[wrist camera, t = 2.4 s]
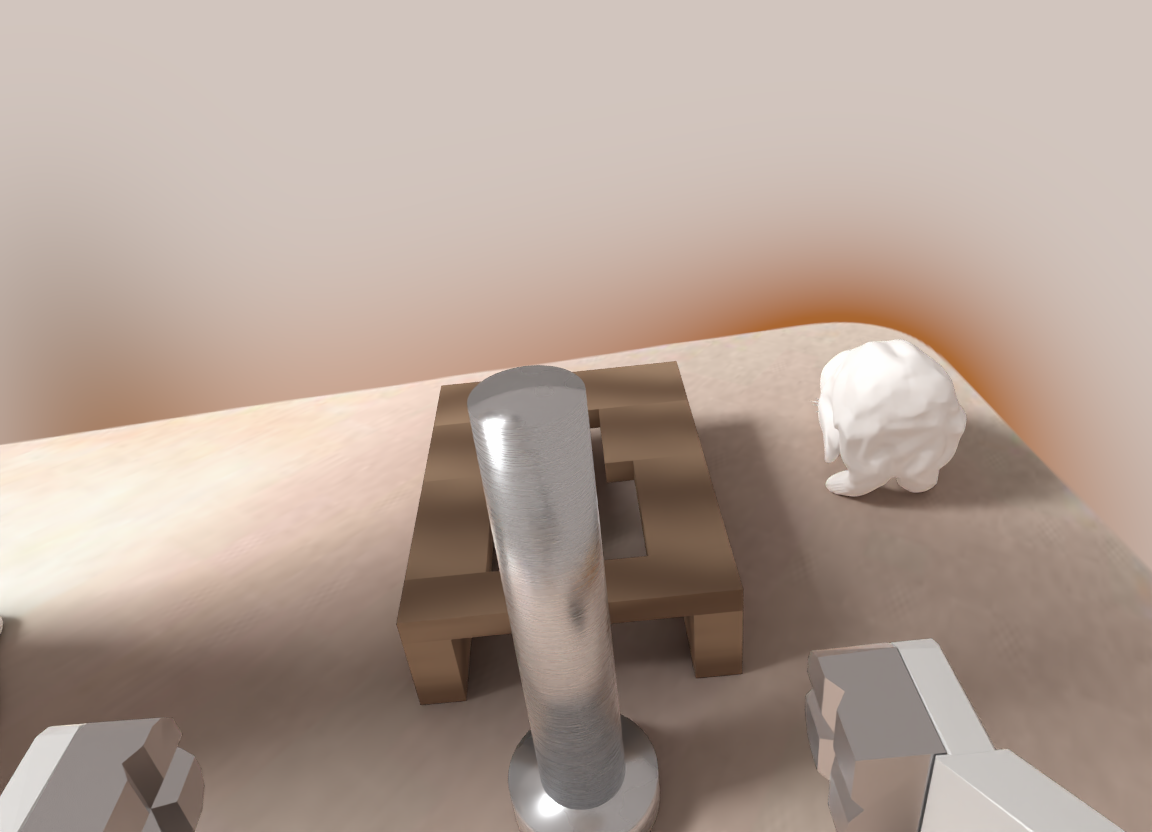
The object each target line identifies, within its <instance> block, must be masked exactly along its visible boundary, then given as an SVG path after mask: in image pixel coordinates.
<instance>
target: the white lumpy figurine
mask: <svg viewBox="0 0 1152 832" xmlns="http://www.w3.org/2000/svg"><path fill="white" fill-rule="evenodd" d="M820 388H821V395H820V399H817V400H819V402H817V401H811V402H814V403H817V404H818V405H815V404H813V405H815V406H818V409H819V411H816V412H819V413H818V416H819V423H820V426H821V429H822V432H823V438H824V448H825V462H827V463H830V462H833V461H834V460H836V459H837V457H838V456H839V454H841V458H842V460H843V463H844V464H845V466H846V467H847V468H848V470H845V471H841V472H839V473H836V474H834V475H832V476H830V477H829V478H828V479H827V481H826V484H825V485H826V487H827V489H828V490H830V492H833V493H835V494H840V495H846V496H861V495H864V494H867V493H869V492H871V491H873V490H875V489H877V488H879V487H881V486H883V485H885V484H886V483H887V482H888V480H889V479H891V478H894V477H896V481H897V483H898V484H899V485H900V486H901V487H902V488H904V489H905V490H907V491H910V492H915V493H917V492H924V491H927V490H929V489H930V488H933V487H934V485H936V483H937V482H938V474H939V469H940V468H942V467H943V466H944V465H946V464H947V463H948V462H949V461H950V460H951V459H952V457H953V456H954V454H955V452H956V450H957V447H958V444H959V441H960V438H961V436H962V435H963V433H964V431H965V427H966V420H967V417H966V413H965V411H964V410H963V408H962V407H961V405H960V404H959V402H958V399H957V397H956V393H955V390H954V386H953V383H952V380H951V378H950V377H949V375H948V374H947V372H946V371H945V370H944V368H943V367H942V366H941V365H940V364H939V363H937V362H936V361H935V360H934V359H932V358H931V357H930V356H928V355H927V354H926V353H924V352H923V351H922V350H920V349H919V348H918V347H916V346H915V345H913V344H911V343H910V342H908V341H905V340H901V339H899V340H890V341H875V342H867V343H866V344H864V345H861V346H859V347H856V348H855V349H853V350H846V351H843V352H841V353H839V354H838V355H836V356H835V357H834V358H832V359H831V360H830V361H829V362H828V363H827V364H826V366H825V367H824V369H823V371H822V373H821V379H820Z"/></svg>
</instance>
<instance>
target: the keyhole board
mask: <svg viewBox="0 0 1152 832" xmlns="http://www.w3.org/2000/svg"><path fill="white" fill-rule="evenodd" d="M572 373H574V374H576V375H577V376H579V377H580V378H581V379H582V381H583V382H584V384H585V388H586V397H587V407H588V416H589V426H590V428H598V427H600V429H601V437H602V446H603V454H604V463H605V471H606V480H607V483H608V482H617V481H627V480H635V486H636V492H637V498H638V504H639V510H640V517H641V523H642V529H643V535H644V541H645V547H646V553H647V556H641V557H631V558H621V559H611V560H604V567H605V577H606V586H607V596H608V605H609V615H610V624H613V623H623V622H633V621H643V620H654V619H664V618H674V617H684V621H685V626H686V631H687V636H688V641H689V646H690V651H691V656H692V661H693V666H694V671H695V676H696V678H702V677H712V676H722V675H733V674H742V643H743V587H742V583H741V580H740V576H739V573H738V570H737V566H736V563H735V559H734V556H733V553H732V549H731V546H730V542H729V539H728V536H727V532H726V529H725V525H724V522H723V518H722V515H721V512H720V508H719V505H718V501H717V498H716V495H715V491H714V488H713V484H712V481H711V477H710V474H709V471H708V467H707V464H706V460H705V457H704V454H703V450H702V447H701V443H700V440H699V436H698V433H697V430H696V426H695V423H694V419H693V416H692V413H691V409H690V406H689V402H688V399H687V395H686V392H685V389H684V385H683V382H682V378H681V375H680V372H679V368H678V365H677V361H674V362H664V363H654V364H645V365H635V366H626V367H616V368H607V369H597V370H587V371H578V372H572ZM479 383H480V382H473V383H463V384H453V385H444V386H441V390H440V396H439V401H438V406H437V412H436V417H435V422H434V427H433V433H432V438H431V443H430V449H429V454H428V459H427V464H426V470H425V475H424V480H423V486H422V491H421V496H420V501H419V507H418V512H417V517H416V522H415V528H414V533H413V538H412V544H411V549H410V554H409V559H408V565H407V570H406V575H405V581H404V586H403V591H402V596H401V602H400V607H399V612H398V617H397V623H396V624H397V628H398V631H399V634H400V638H401V641H402V644H403V648H404V651H405V654H406V658H407V661H408V664H409V668H410V671H411V674H412V678H413V681H414V684H415V688H416V691H417V694H418V698H419V701H420V704H421V705H425V704H435V703H445V702H455V701H466V698H467V686H468V675H469V663H470V651H471V640H472V637H481V636H492V635H502V634H512V631H511V626H510V621H509V616H508V611H507V606H506V601H505V596H504V591H503V586H502V580H501V575H500V571H492V572H491V569H492V554H493V535H492V530H491V524H490V519H489V514H488V509H487V504H486V499H485V494H484V489H483V484H482V479H481V474H480V468H479V463H478V458H477V453H476V448H475V443H474V438H473V433H472V428H471V423H470V418H469V412H468V407H467V400H468V397H469V394H470V393H471V391H472V390H473V389H474V388H475V387H476V386H477V385H478V384H479Z"/></svg>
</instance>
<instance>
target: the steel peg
mask: <svg viewBox="0 0 1152 832" xmlns="http://www.w3.org/2000/svg"><path fill="white" fill-rule="evenodd" d="M467 407H468V412H469V418H470V423H471V428H472V433H473V438H474V443H475V448H476V453H477V458H478V463H479V468H480V474H481V479H482V484H483V489H484V494H485V499H486V504H487V509H488V514H489V519H490V524H491V530H492V535H493V540H494V545H495V550H496V555H497V560H498V565H499V570H500V575H501V580H502V586H503V591H504V596H505V601H506V606H507V611H508V616H509V621H510V626H511V631H512V636H513V642H514V647H515V652H516V657H517V662H518V667H519V672H520V677H521V682H522V687H523V692H524V698H525V703H526V708H527V713H528V718H529V723H530V728H531V730H530V731H529V732H528V733H527V734H526V735H525V736H524V737H523V738H522V740H521V741H520V743H519V744H518V746H517V748H516V750H515V752H514V754H513V756H512V759H511V762H510V767H509V774H508V784H509V791H510V795H511V800H512V804H513V808H514V813H515V817H516V821H517V824H518V826H519V829H520V831H521V832H650V830H651V829H652V827H653V825H654V823H655V820H656V817H657V814H658V810H659V804H660V788H659V774H658V763H657V757H656V754H655V750H654V748H653V746H652V743H651V742H650V740H649V738H648V737H647V735H646V734H645V733H644V732H643V730H642V729H641V728H640V727H639V726H637V725H636V724H635V723H634V722H632V721H631V720H630V719H628V718H626V717H625V716H623V715H621V714H620V709H619V700H618V690H617V681H616V672H615V662H614V653H613V643H612V634H611V624H610V615H609V605H608V596H607V586H606V577H605V567H604V558H603V549H602V539H601V530H600V520H599V511H598V501H597V492H596V482H595V473H594V463H593V454H592V444H591V435H590V426H589V416H588V407H587V397H586V388H585V384H584V382H583V381H582V379H581V378H580V377H579V376H577V375H576V374H574V373H572V372H571V371H568V370H566V369H562V368H558V367H553V366H541V365H536V366H523V367H517V368H513V369H509V370H505V371H502V372H499V373H497V374H494V375H492V376H490V377H488V378H486V379H485V380H483V381H482V382H480V383H479V384H478V385H477V386H476V387H475V388H474V389H473V390H472V391H471V393H470V394H469V397H468V400H467Z"/></svg>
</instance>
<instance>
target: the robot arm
mask: <svg viewBox="0 0 1152 832" xmlns="http://www.w3.org/2000/svg"><path fill="white" fill-rule="evenodd" d="M2 627H3V619H2V618H1V617H0V634H1V631H2ZM807 672H808V675H809V678H810V681H811V684H812V687H813V688H812V689H811V690H810V691H809V692H808V694H807V695H806V703H805V716H806V725H807V734H808V739H809V743H810V747H811V752H812V755H813V758H814V762H815V765H816V768H817V771H818V772H819V773H820V774H821V775H822V776H824V777H825V778H826V779H827V780H828V781H830V784H829V796H828V806H829V809H830V812H831V815H832V819H833V822H834V825H835V828H836V831H837V832H1126V831H1124V830H1123V829H1121V828H1120V827H1118V826H1117V825H1116V824H1114V823H1113V822H1111V821H1110V820H1109V819H1107V818H1106V817H1104V816H1103V815H1101V814H1100V813H1099V812H1097V811H1096V810H1094V809H1093V808H1092V807H1090V806H1089V805H1087V804H1086V803H1084V802H1083V801H1082V800H1080V799H1079V798H1077V797H1076V796H1075V795H1073V794H1072V793H1070V792H1069V791H1068V790H1066V789H1065V788H1063V787H1062V786H1060V785H1059V784H1058V783H1056V782H1055V781H1053V780H1052V779H1051V778H1049V777H1048V776H1046V775H1045V774H1043V773H1042V772H1041V771H1039V770H1038V769H1036V768H1035V767H1034V766H1032V765H1031V764H1029V763H1028V762H1026V761H1025V760H1024V759H1022V758H1021V757H1019V756H1018V755H1017V754H1015V753H1014V752H1012V751H1011V750H1009V749H1000V750H996V749H995V747H994V745H993V743H992V741H991V740H990V738H989V736H988V734H987V732H986V730H985V729H984V727H983V725H982V723H981V721H980V719H979V717H978V716H977V714H976V712H975V710H974V708H973V706H972V704H971V703H970V701H969V699H968V697H967V695H966V693H965V692H964V690H963V688H962V686H961V684H960V682H959V680H958V679H957V677H956V675H955V673H954V671H953V669H952V667H951V666H950V664H949V662H948V660H947V658H946V656H945V655H944V653H943V651H942V649H941V647H940V645H939V644H938V643H937V642H936V641H934V640H933V639H932V638H930V639H920V640H910V641H900V642H892V643H888V642H884V643H876V644H867V645H858V646H849V647H841V648H832V649H823V650H814V651H811V652H810V655H809V657H808V668H807ZM181 737H182V732H181V731H180V729H179V727H178V726H177V724H176V723H175V721H174V719H173V718H150V719H136V720H123V721H109V722H96V723H85V724H74V725H62V726H51V727H48V728H47V729H45V730H44V731H43V732H42V733H40V734H39V735H38V736H37V737H36V738H35V739H34V741H33V743H32V744H31V746H30V748H29V749H28V751H27V753H26V754H25V756H24V758H23V759H22V761H21V763H20V764H19V766H18V768H17V769H16V771H15V773H14V774H13V776H12V778H11V779H10V781H9V783H8V784H7V786H6V788H5V789H4V791H3V792H2V794H1V796H0V832H195V829H196V826H197V824H198V821H199V818H200V815H201V812H202V807H203V797H204V786H205V785H204V780H203V775H202V770H201V767H200V765H199V763H198V761H197V759H196V757H195V756H194V755H192V754H190V753H188V752H187V751H185V750H183V749H181V748H179V747H178V744H179V742H180V739H181Z"/></svg>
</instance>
